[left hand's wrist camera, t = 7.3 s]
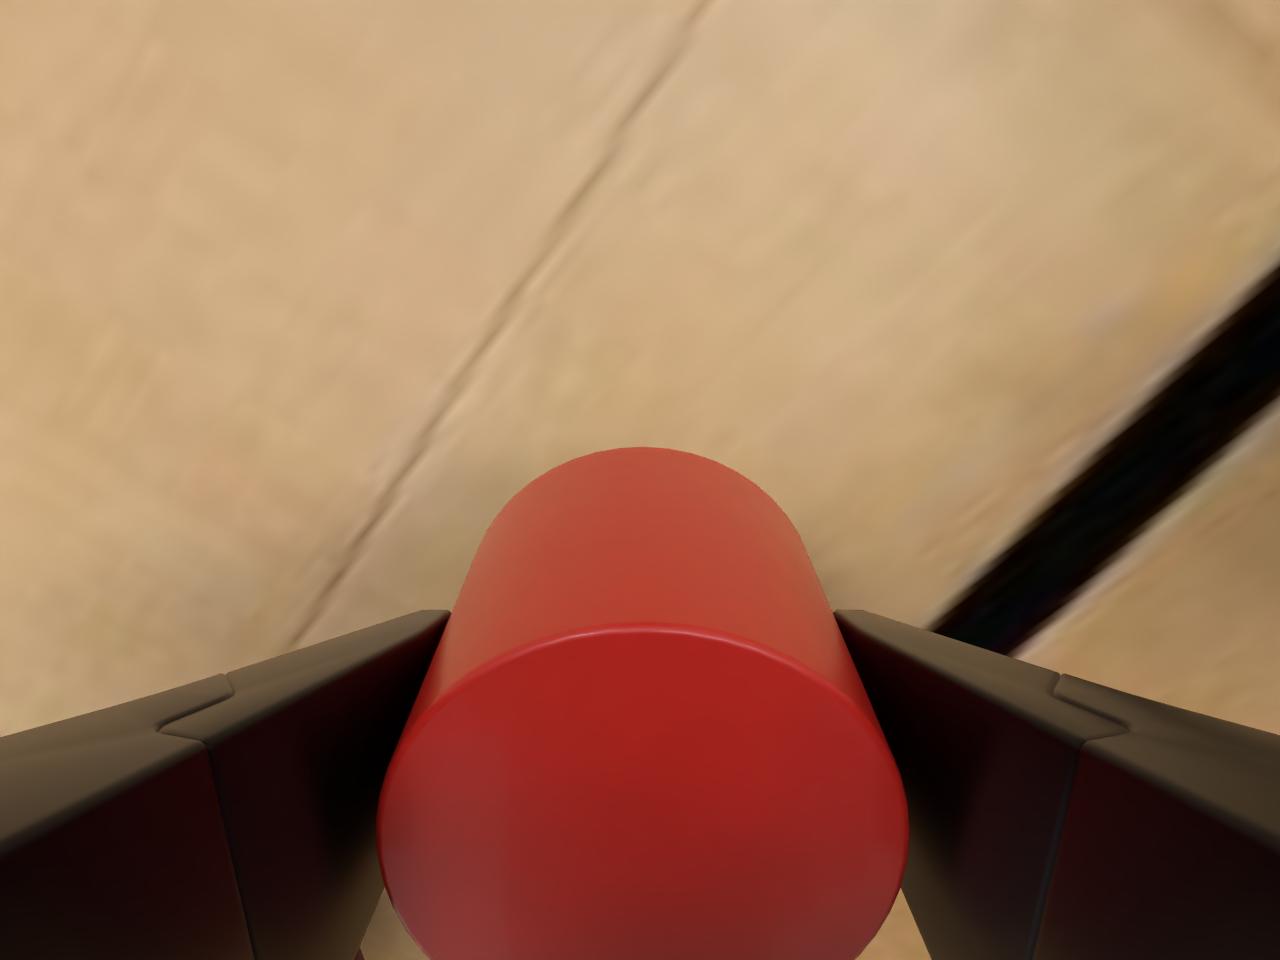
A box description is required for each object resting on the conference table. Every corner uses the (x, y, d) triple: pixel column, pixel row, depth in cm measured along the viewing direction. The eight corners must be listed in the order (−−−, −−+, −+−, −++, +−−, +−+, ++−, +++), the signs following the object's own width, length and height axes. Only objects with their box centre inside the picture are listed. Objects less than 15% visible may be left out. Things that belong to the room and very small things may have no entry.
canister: (478, 747, 13) (398, 1043, 9) (458, 442, 11) (343, 622, 7) (799, 751, 13) (879, 1048, 9) (830, 447, 11) (949, 630, 7)
